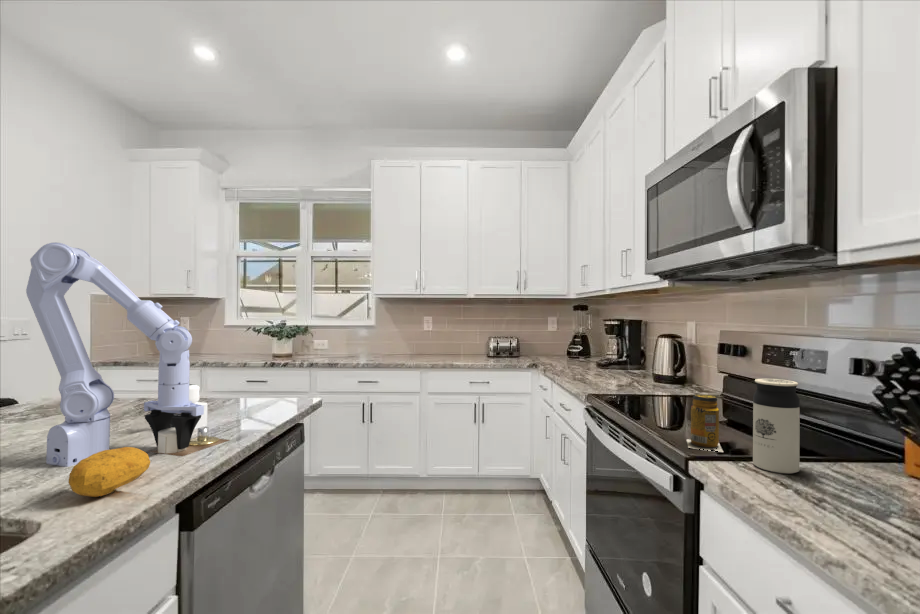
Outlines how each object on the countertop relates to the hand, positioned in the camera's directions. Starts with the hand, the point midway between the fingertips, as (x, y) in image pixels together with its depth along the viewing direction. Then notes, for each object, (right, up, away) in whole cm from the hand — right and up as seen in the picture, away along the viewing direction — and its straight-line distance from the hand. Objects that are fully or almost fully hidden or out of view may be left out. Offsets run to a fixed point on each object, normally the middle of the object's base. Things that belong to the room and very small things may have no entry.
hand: (172, 446), depth 100 cm
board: (+2, -2, +3) cm, 4 cm away
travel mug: (+127, -4, -3) cm, 127 cm away
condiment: (+120, -4, +12) cm, 121 cm away
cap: (0, -1, 0) cm, 1 cm away
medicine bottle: (-9, -2, +19) cm, 21 cm away
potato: (+1, -2, -20) cm, 20 cm away
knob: (+3, -1, +6) cm, 7 cm away
